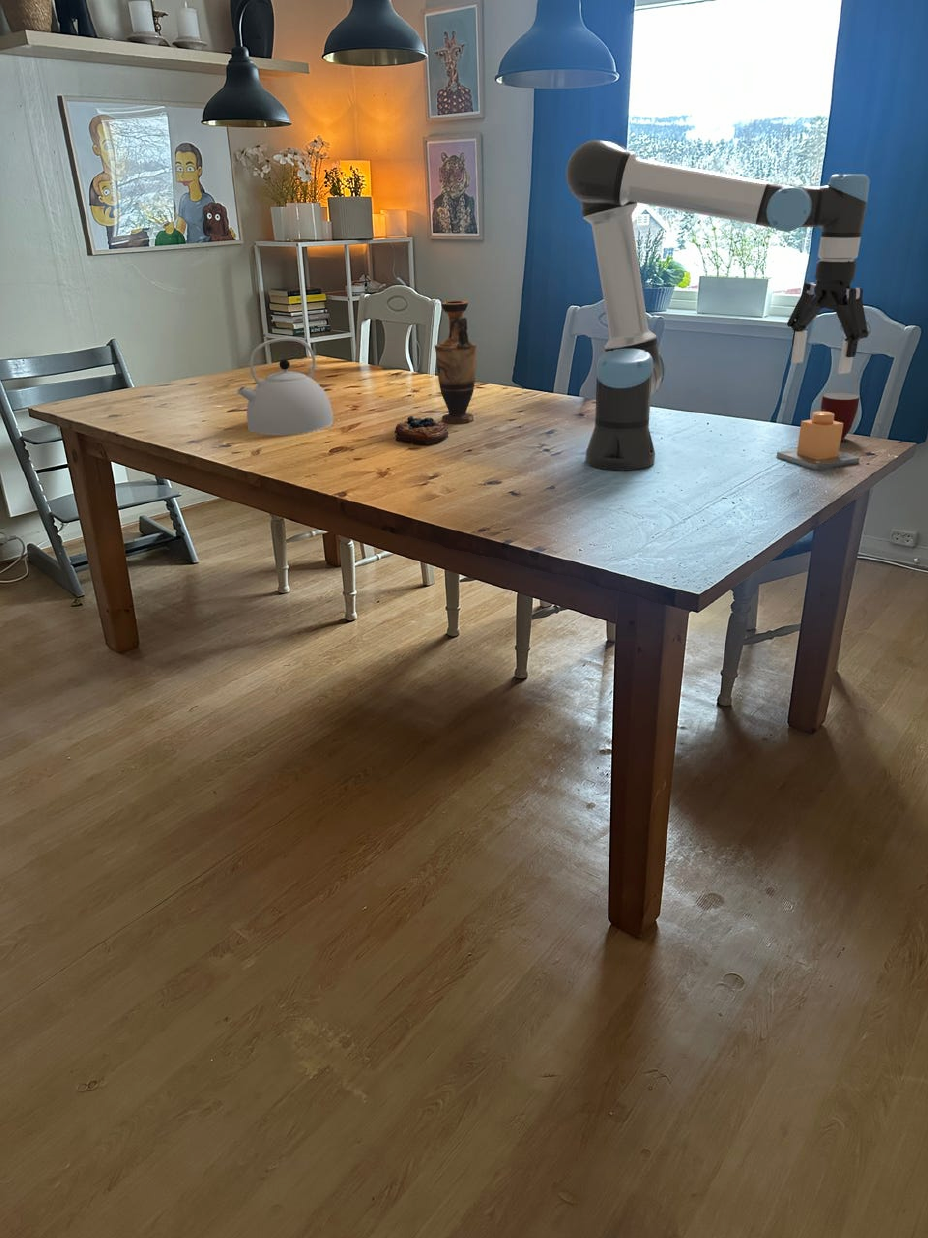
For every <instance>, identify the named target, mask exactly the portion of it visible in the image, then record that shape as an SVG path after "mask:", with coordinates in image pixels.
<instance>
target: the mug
mask: <svg viewBox="0 0 928 1238" xmlns="http://www.w3.org/2000/svg"><path fill="white" fill-rule="evenodd" d="M859 404H860V396H859V395H858V394H855V393H848V392H829V393H828V392H827V393H823V394H822V397H821V404H820V411H822V412H831V413H834V414H835V415H834V421H837V422H841V423H843V429H842V436H841V441H842V440H844V439H845V437H846V436H847V435H848V433H849V432H850V430H851V429H852V426H853V423H854V420H855V417H856V415H857V412H858V408H859Z"/></svg>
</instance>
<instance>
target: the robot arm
mask: <svg viewBox="0 0 928 1238" xmlns="http://www.w3.org/2000/svg"><path fill="white" fill-rule="evenodd" d="M565 173H566V174H565V176H566V182H567V186H568V188H569V190H570V192H571V194H572V195H573V196H574V197H575V198H576V199H578V200H579V202H580V206H581V213H582V214H581V215H582V218H583V220H584V221H586V222H587V223H589V224H590V225H591V230H592V235H593V241H594V246H595V247H594V248H595V254H596V259H597V266H598V273H599V278H600V285H601V291H602V297H603V303H604V308H605V316H606V320H607V326H608V332H609V339H608V341H607V343H606V344H605V345H604V351H605V352H604V353H602V354H601V355H600V356H599V358H598V360H597V367H596V370H595V373H596V374H595V375H596V384H595V385H596V388H595V411H594V412H595V417H594V419H595V420H594V429H593V431H592V434H591V437H590V439H589V443H588V445H587V448H586V451H585V462H586V463H587V464H588V465H589V466H591V467H594V468H596V469H597V468H598V469H603V470H607V471H608V470H609V471H635V470H636V471H637V470H641V469H647V468H649V467H651V466H653V465H654V464H655V459H656V451H655V447H654V443H653V440H652V435H651V432H650V428H649V427H650V412H651V397H652V396H654V395H655V394H656V393H657V392H658V390H659V389H660V388H661V386H662V384H663V381H664V378H665V373H666V367H665V362H664V358H663V357H662V354H661V353H660V351H659V346H658V338H657V334H655V333H654V332H652V331H651V330H650V329H649V323H648V319H647V312H646V304H645V299H644V298H645V297H644V290H643V283H642V278H641V271H640V263H639V257H638V250H637V244H636V238H635V237H636V236H635V230H634V223H633V217H632V216H633V212H634V211H635V209H636V208H637V206H638V204H644V205H648V206H655V207H659V208H665V209H670V210H671V209H672V210H675V211H676V210H677V211H681V212H685V213H686V212H687V213H692V214H698V215H703V216H707V217H708V216H709V217H715V218H717V219H718V218H720V219H724V220H730V221H736V222H740V223H746V224H750V225H757V226H760V227H765V228H772V229H776V230H777V231H781V232H785V233H787V232H788V233H789V232H792V231H795V230H797V229H799V228H815V229H816V228H821V235H820V241H819V248H818V253H817V257H818V258H819V259H820V260H818V261H817V262H816V266H815V273H814V280H815V281H817V282H805V283H804V285H803V287H802V293H801V294H800V296H799V299H798V301H797V303H796V305H795V307H794V308H793V311H792V313H791V315H790V316H789V317H788V318H789V319H788V321H787V323H786V325H787V327H788V328H791V329H792V331H793V333H792V334H793V335H792V342H791V346H792V353H791V359H790V364H799V363H804V357H805V351H806V345H807V344H806V343H807V340H808V339H807V338H808V331H807V330H808V329H807V327H808V326H809V325H810V324H811V322H812V321H813V320H814V318H816V316H817V315H818V314H819V313H820V311H821V310H822V309H828V310H833V312H834V313H836V315H837V318H838V320H839V322H840V324H841V327H842V330H843V332H844V334H845V339H844V340H842V347H841V351H840V352H841V353H840V356H839V357H840V358H839V363H838V368H837V369H838V370H837V374H839V375H842V374H851V372H852V366H853V361H854V358H855V357H856V355H857V349H858V344H859V341H860V340H862V339H863V340H864V339H867V338H868V337H869V330H868V324H867V319H866V315H865V309H864V303H863V294H864V290H863V288H862V287H851V283H852V282H853V281H854V279H855V274H856V268H857V262H856V261H855V259H857V258H858V256H859V250H860V245H861V239H862V232H863V227H864V223H865V217H866V211H867V205H868V201H869V200H868V199H869V191H870V177H869V176H868V175H866V174H833V175H831V176H830V177H829V181H828V183H827V185H820V186H818V185H817V186H816V185H815V186H812V185H811V186H810V185H809V186H808V185H806V186H805V185H791V184H783V183H778V182H777V183H776V182H769V181H765V180H760V179H756V178H755V179H754V178H749V177H743V176H737V175H732V174H726V173H722V172H715V171H711V170H710V171H709V170H703V169H698V168H692V167H688V166H680V165H675V164H672V163H671V164H670V163H664V162H660V161H653V160H649V159H642V158H639V157H638V154H637V153H636V151H632V150H631V151H629V150H628V149H627V148H626V147H625V146H623V145H622V144H620V143H618V142H615V141H610V140H607V141H606V140H600V139H593V140H588V141H586V142H584V143H582V144H581V145H579V146H578V147H577V148H576V149H575V150H574V151H573V152H572V154H571V156H570V158H569V160H568V162H567V166H566V171H565Z"/></svg>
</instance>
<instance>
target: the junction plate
mask: <svg viewBox="0 0 928 1238" xmlns="http://www.w3.org/2000/svg"><path fill="white" fill-rule="evenodd" d="M797 450H798V448H794V449H787V450H781V451H777V452H776V458H778V459H780V460H783V461H786V462H789V463H791V464H792V463H793V464H795V465H799V466H801V467H804V468H807V469H810V470H813V471H817V472H818V471H821V470H827V469H828V470H829V469H833V468H837V467H838V468H839V467H844V466H845V467H846V466H849V465H850V466H851V465H856V464H860V457H858V456H855V455H852V454H849V453H845V452H842V451H839V454H838V456H837V457H831V458H825V459H820V460H816V459H813V458H809V457H806V456H803V455H800V454H797Z"/></svg>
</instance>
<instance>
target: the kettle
mask: <svg viewBox="0 0 928 1238" xmlns="http://www.w3.org/2000/svg"><path fill="white" fill-rule="evenodd" d="M291 341H292V342H296V343H299V344H300V345H301V344H302V345H303V346H304V347H305V348H306V349H307V350H308V351H309V353H310V355H311V358H312V359H311V361H312V367H311V370H310V373H309V374H308V376H307V374H304V373H301V372H298V371H293V370H292V371H291V370H288V369H289V368H290V366H291V365H290V364H291V363H290V361H289V360H288V359H281V360H280V361H279V367H280V369H282V371H278V372H274V373H272V374H269V375H268V376H266V377H265V378H264V379H263V380H261V381H260V380H259V378H258V376H257V374H256V372H255V370H254V359H255V356H256V354H257V353H258V351H260V350H261V349H262V348H264V347H265V346H267V345H271V344H275V343H279V342H291ZM316 361H317V360H316V356H315V353H314V350H313V349H312V347H311V346H310V345H309V344H308V343H306V342H305V341H304V340H302V339H299V338H297V337H291V336H289V337H279V338H272V339H269V340H265V342H262V343H261V344H259V345H258V346H257V347H256V348H254V350H253V352H252V353H251V355H250V360H249V368H250V369H249V370H250V372H251V373H250V374H251V376H252V377H253V380H254V381H255V383H256V384H257V385H256V386H255V388H254V389H252V388H249V387H246V386H241V387H239V388H237V390H236V393H238V394H239V395H240V396H241V397H243V398H245V399H246V400H248V402H247V407H246V420H247V430H248V429H249V430H250V432H251V433H254V434H258V433H259V434H258V435H264V434H267V435H268V436H293V435H292V434H296V435H303V434H302V433H305V434H309V433H308V432H311V433H314V432H313V431H316V432H318V431H317V430H320V431H322V430H321V429H323V430H325V429H324V428H326V427H328V426H330V425H332V424H333V421H334V415H333V409H332V404H331V402H330V399H329V397H328V395H327V393H326V391H325V390H324V389H323V387H321V385H320V384H318V382H316V380H314V379H313V376H314V374H315V371H316V366H317V364H316V363H317V362H316ZM333 425H334V424H333ZM333 425H332V426H333ZM330 427H331V426H330ZM328 428H329V427H328ZM326 429H327V428H326ZM249 430H248V431H249ZM289 434H291V435H289ZM267 435H266V436H267Z"/></svg>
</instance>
